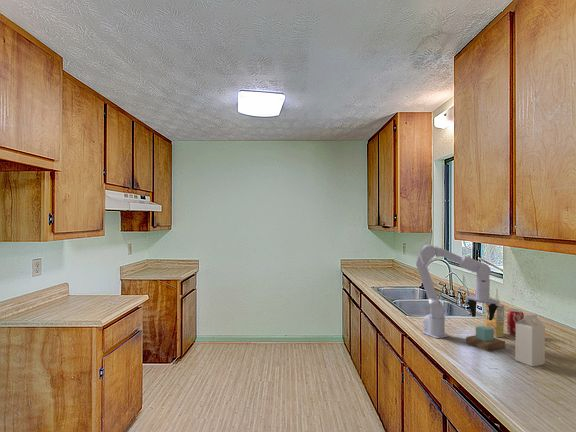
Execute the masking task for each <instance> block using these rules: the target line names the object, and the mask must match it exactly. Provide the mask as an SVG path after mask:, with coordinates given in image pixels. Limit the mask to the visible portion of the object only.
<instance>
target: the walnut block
mask: <svg viewBox="0 0 576 432" xmlns="http://www.w3.org/2000/svg"><path fill="white" fill-rule="evenodd" d="M465 337H466V339H465V341H466V342H465V344H466V345H469V346H472V347H475V348H477V349H479V350H483V351H485V352H489V353H490V352H492V351H497V350H498V351H499V350H503V349H506V341H505V340H503V339H500V338H497V337H494V340H491V341H483V340H480V339H478V338H476V334H475V335H470V336H465Z"/></svg>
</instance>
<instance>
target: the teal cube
mask: <svg viewBox="0 0 576 432" xmlns="http://www.w3.org/2000/svg"><path fill="white" fill-rule="evenodd" d="M475 335H476V338H478V339H480V340H483V341H491V340H494V338H495V336H494V329H492V328H489V327H487V326H485V325H480V326H479V325H478V326H476V327H475Z"/></svg>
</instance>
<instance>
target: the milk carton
mask: <svg viewBox="0 0 576 432" xmlns="http://www.w3.org/2000/svg"><path fill="white" fill-rule="evenodd" d="M545 344H546V326H545V325H544V323H543V322H542V321H541V320H540V319H539V318H538V315H537V313H534V314H525V315H524V318H523V319H522V320H520V321H519V322H517V323H516V336H515V347H514V348H515V349H514V350H515V352H514V353H515V360H514V361H517V362H520V363H522V364H524V365H527V366H530V367H537V366H543V365H545V361H546V360H545V359H546V357H545V356H546V355H545V353H546V352H545V351H546V345H545Z"/></svg>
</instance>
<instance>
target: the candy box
mask: <svg viewBox="0 0 576 432" xmlns="http://www.w3.org/2000/svg"><path fill="white" fill-rule="evenodd" d="M488 305H490V304H486V303H485V321H484V323H485V324H484V326H487V327H489V328H492V329H494V338H504V327H505V325H504V324H505V305H504V304H501V303H500V305H499V306H498V308H497V309H496V311H495V313H494V316H493V320H491V321H490V320H489V308H488Z"/></svg>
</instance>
